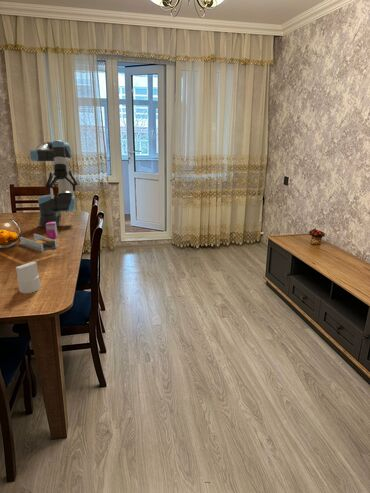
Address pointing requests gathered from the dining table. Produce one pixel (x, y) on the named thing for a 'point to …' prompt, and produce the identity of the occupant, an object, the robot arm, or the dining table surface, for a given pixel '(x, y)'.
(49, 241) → the mounting rail
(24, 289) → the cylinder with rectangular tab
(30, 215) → the dining table surface
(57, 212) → the food container
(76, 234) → the dining table surface
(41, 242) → the orange square tile
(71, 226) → the dining table surface
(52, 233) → the supplement box
